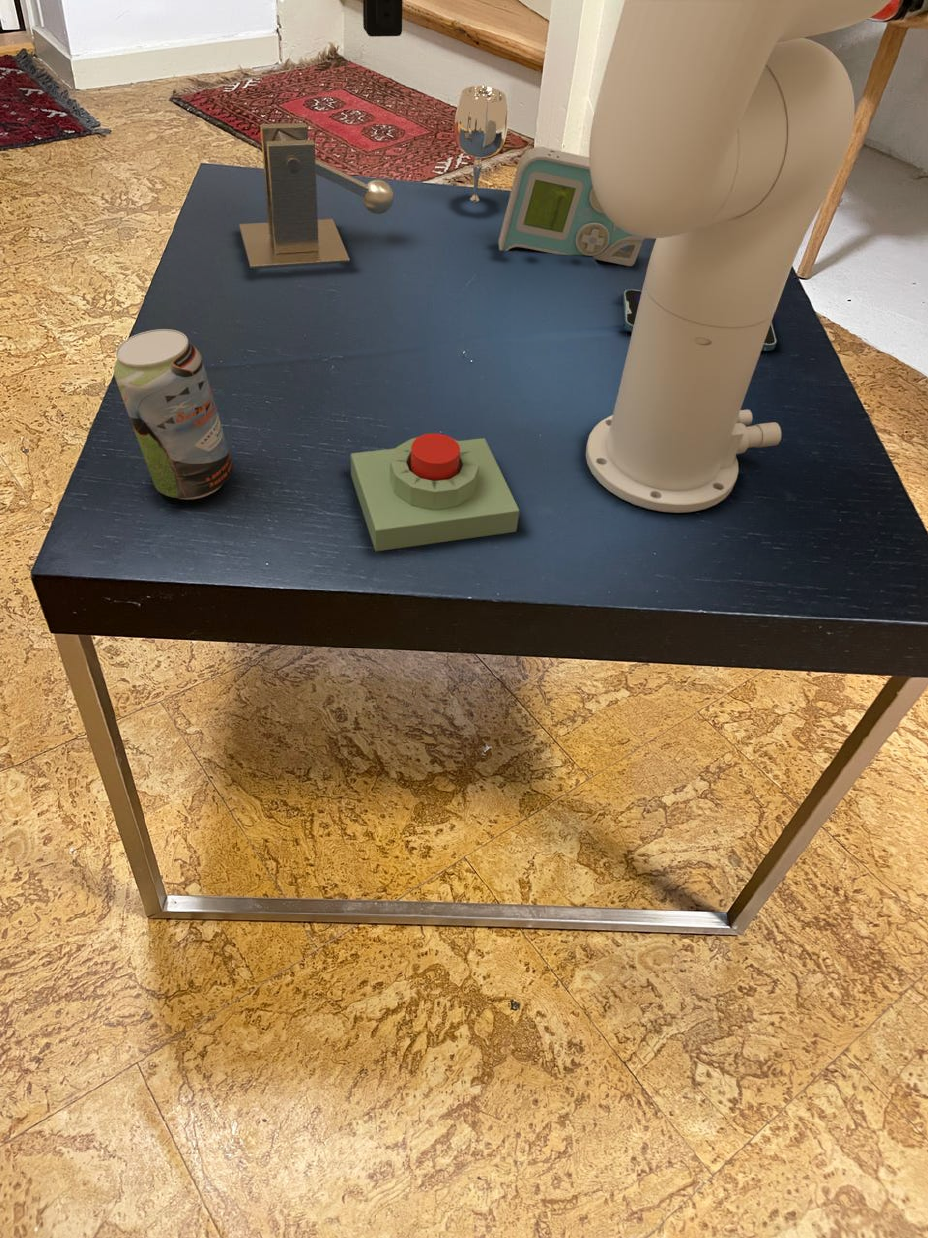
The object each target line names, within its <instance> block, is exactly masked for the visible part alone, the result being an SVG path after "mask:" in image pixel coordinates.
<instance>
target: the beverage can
mask: <svg viewBox="0 0 928 1238" xmlns="http://www.w3.org/2000/svg"><path fill="white" fill-rule="evenodd" d="M115 356H116V361H115V364H114V367H113V376H114V380H115V382H116V384H117V387H118V390H119V392H120V395H121V398H122V401H123V403H124V406H125V409H126V412H127V414H128V417H129V420H130V422H131V425H132V427H133V430H134V434H135V435H136V439H137V441H138V444H139V447H140V450H141V452H142V455H143V458H144V461H145V463H146V467H147V469H148V472H149V475H150V477H151V481H152V483H153V485H154V488H155V489H156V490H157V492H159V493H160V494H162V495H164V496H166V497H170V498H174V499H179V500H196V499H202V498H204V497H205V498H206V497H207V496H210V495H212V494H213V493H215V492H216V491H218V490H219V489H220V488H221V487H222V486H223V485H224V484H225V483H226V482H227V481H228V480H229V479H230V477H231V476H232V474H233V471H234V470H233V469H234V465H233V461H232V457H231V454H230V451H229V447H228V444H227V439H226V436H225V433H224V430H223V426H222V423H221V420H220V419H221V418H220V416H219V412H218V409H217V405H216V402H215V399H214V395H213V392H212V388H211V385H210V381H209V378H208V374H207V370H206V368H205V364H204V361H203V357H202V354H201V352H200V351H199V349H197V347H196V346H194V344H192V343H191V342H190V341H189V339H188V337H187V335H186V334H184V333H183V332H182V331H178V330H176V329H168V328H159V329H151V330H147V331H143V332H139V333H137V334H134V335H132V336H130V337H128V338H127V339H125V340H124V341H122V342H121V343H120V344H119V345H118V346H117V348H116V350H115Z"/></svg>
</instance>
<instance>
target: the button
mask: <svg viewBox="0 0 928 1238" xmlns="http://www.w3.org/2000/svg"><path fill="white" fill-rule="evenodd" d="M417 437H418V438H417ZM417 437H415V438H416V439H415V440H414V441H413V443H412V446H411V469H412V471H413V473H414V474H415V475H416V476H418V477H419V478H422V479H427V480H432V481H439V480H447V479H451V478H452V477H454V476H455V475H456V473H457V472H458V467H459V456H460V447H459V445H458V443H457V442H456V441H455V440H456V439H454V438H453V437H451V436H449V435H447V434H443V433H437V432H436V433H435V432H432V433H431V432H430V433H425V434H422V435H420V436H417Z"/></svg>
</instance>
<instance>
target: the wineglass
mask: <svg viewBox="0 0 928 1238" xmlns="http://www.w3.org/2000/svg"><path fill="white" fill-rule="evenodd" d="M507 105H508V104H507V97H506V94H505V93H504V92H503V91H502V90H500V89H498V88H496V87H490V86H484V85H475V86H474V85H473V86H468V87H466V88H463V90H462V91H461V94H460V97H459V100H458V104H457V107H456V112H455V117H454V125H453V133H454V140H455V143H456V146H458V148H459V149H460V151H461V152H463V153H464V154H466V155H467V156H469V157H471V158H475V159H474V161H473V164H472V168H473V169H472V170H473V177H474V178H473V188H472V189H473V190H472V195H471V196H470V197H469V200H470V201H472V202H479V201H480V198H479V195H478V188H479V179H480V176H481V172H482V169H483V162H482V160H481V159H487V158H490V157H493V156H494V155H497V154H498V153H499V152H500V151H501V150H502V149H503V147H504V145H505V143H506V139H507V134H508V127H509V121H508V120H509V119H508V117H509V116H508V106H507Z"/></svg>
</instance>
